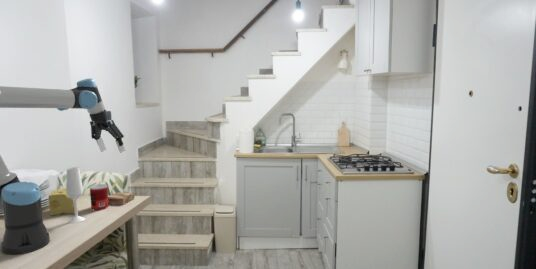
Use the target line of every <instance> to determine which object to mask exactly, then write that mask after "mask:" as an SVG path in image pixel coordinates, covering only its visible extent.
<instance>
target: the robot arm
mask: <svg viewBox="0 0 536 269" xmlns="http://www.w3.org/2000/svg"><path fill="white" fill-rule="evenodd" d="M11 108H12V109H57V110H58V111H60V112H61V111H62V112H63V111H67V110H69V109H75V110H76V109H84V110H86V111H87V113H88V114H89V118H90V120H91V121H89V125H90V132H91V135H90V136H91V139H92V140H93V139H94V140H95V141H96V143H97V145H98V147H99V150H100V152H101V153H102V152H104V151H106V150H107V147H106V145H105V143H104V140H103V138H102V137H101V135H102V131H105V132H107V133H109V134H110V136H112V137H113V138H114V139H115V143H116V144H115V145H116V146H117V149H118V151H119V153H120V154H121V153H123V152H124V151H126V148H125V146H124V142H123V140H122V138H124V137H125V135H124V134H123V132H121V130H120V129H119V127H118V126H117V125H116V123H115V122H114V120H113V119H109V120H108V118H109V117H108V116H109V114H108V112H107V109H105V108H106V107H105V104H104V102H103V100H102V97H101V94H100V91H99V89H98V86H97V84H96V82H95V80H94V78H85V79H80V80H79V81H76V86H75V87H74V88H71V89H58V88H43V87H41V88H39V87H38V88H37V87H21V86H20V87H19V86H2V85H0V109H11ZM0 213H1V214H3V220H4V228H5V229H4V234H3V238H2V241H1V243H0V250H1V253H3V254H6V255H20V254H26V253H30V252H34V251H36V250H40V249H41V248H43V247H45V246H47V245H48V244H49V243H50V241H51V238H50V236H51V235H50V233H49V232H48V230H47V228H46V225H45V223H44V220H43V219H44V218H43V206H42V192H41V189H40V186H39V185H38V184H37V183H36V182H35V183H34V182H31V181H28V182H27V181H20V178H18V175H17V173H15V172H11V171H10V170H9V169H8V166H7V164H6V163H5V161H4V159H3V157H2V155H0Z"/></svg>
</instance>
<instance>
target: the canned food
mask: <svg viewBox="0 0 536 269" xmlns="http://www.w3.org/2000/svg"><path fill="white" fill-rule="evenodd" d="M108 189H109V188H108V185H107V184H99V183H98V184H94V185H91V186H90V187H89V196H90V207H91V210H93V209H94V211H101V209H102V210H105V209H107V208H108V207H109V204H108V197H109V190H108Z"/></svg>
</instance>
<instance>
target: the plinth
mask: <svg viewBox="0 0 536 269" xmlns="http://www.w3.org/2000/svg"><path fill="white" fill-rule="evenodd" d="M134 198H135V193H132V192H116V193H114V194H111V195H108V203H110V204H109V205H119V204H120V205H122V206H123V205H125V204H128V203H129V201H130V202H131V201H133V200H135V199H134Z"/></svg>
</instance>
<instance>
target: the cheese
mask: <svg viewBox="0 0 536 269" xmlns="http://www.w3.org/2000/svg"><path fill="white" fill-rule="evenodd" d="M48 208H49V215H50V216H58V215H63V214H66V215H67V214H68V215H69V214H75V208H74V200H73V199H71V198H70V197H68V196H67V194H66V188H64V189H57V190H56V189H53V190H52V191H51V193H50V194H49V195H48Z"/></svg>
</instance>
